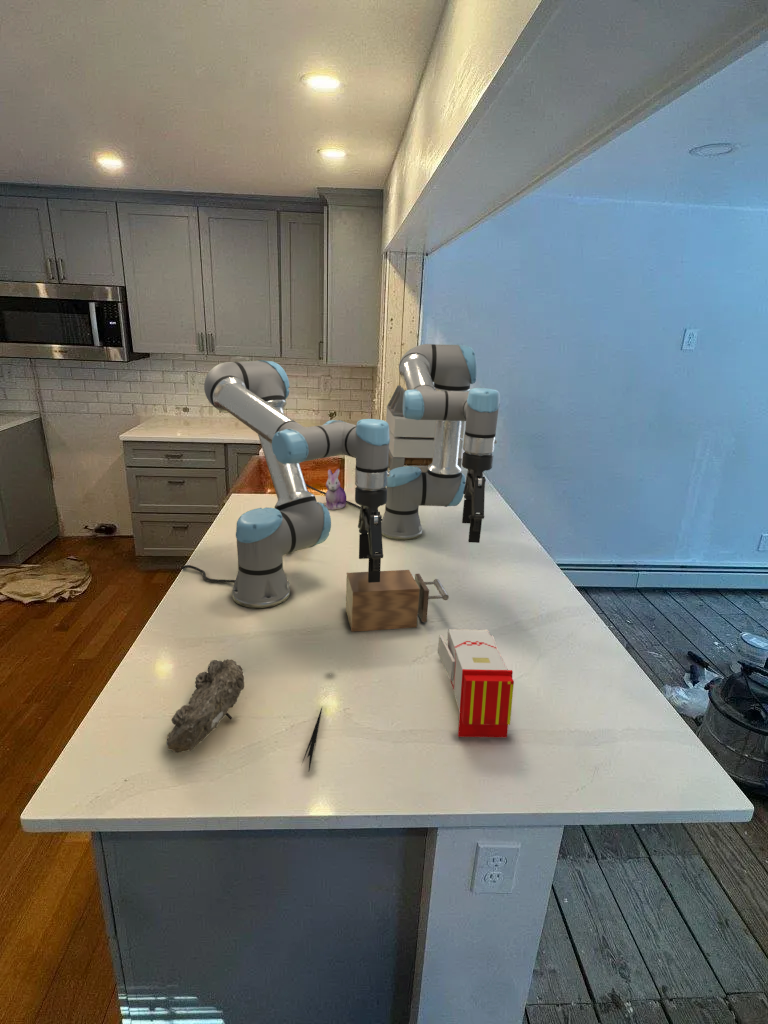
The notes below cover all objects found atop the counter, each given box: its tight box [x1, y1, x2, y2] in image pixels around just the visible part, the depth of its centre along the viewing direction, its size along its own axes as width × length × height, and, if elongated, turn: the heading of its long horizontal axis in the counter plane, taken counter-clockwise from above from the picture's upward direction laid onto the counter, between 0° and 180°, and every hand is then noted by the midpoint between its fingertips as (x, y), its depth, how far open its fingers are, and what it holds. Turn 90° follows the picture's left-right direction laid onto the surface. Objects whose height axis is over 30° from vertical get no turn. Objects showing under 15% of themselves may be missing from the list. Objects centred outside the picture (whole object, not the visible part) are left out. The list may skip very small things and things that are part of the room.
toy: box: [437, 628, 515, 738], centre depth 117 cm, size 12×13×30 cm
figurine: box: [325, 468, 347, 510], centre depth 222 cm, size 9×10×15 cm
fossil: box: [166, 658, 245, 754], centre depth 106 cm, size 22×10×15 cm
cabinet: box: [345, 569, 419, 633], centre depth 143 cm, size 16×11×11 cm, turn 101°
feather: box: [301, 673, 332, 771], centre depth 108 cm, size 2×28×2 cm
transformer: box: [385, 384, 465, 471], centre depth 268 cm, size 34×33×41 cm
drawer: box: [414, 573, 450, 623], centre depth 144 cm, size 21×9×9 cm, turn 101°
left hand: (368, 569), depth 139 cm, fingers open, 13 cm apart
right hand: (470, 532), depth 148 cm, fingers open, 13 cm apart
